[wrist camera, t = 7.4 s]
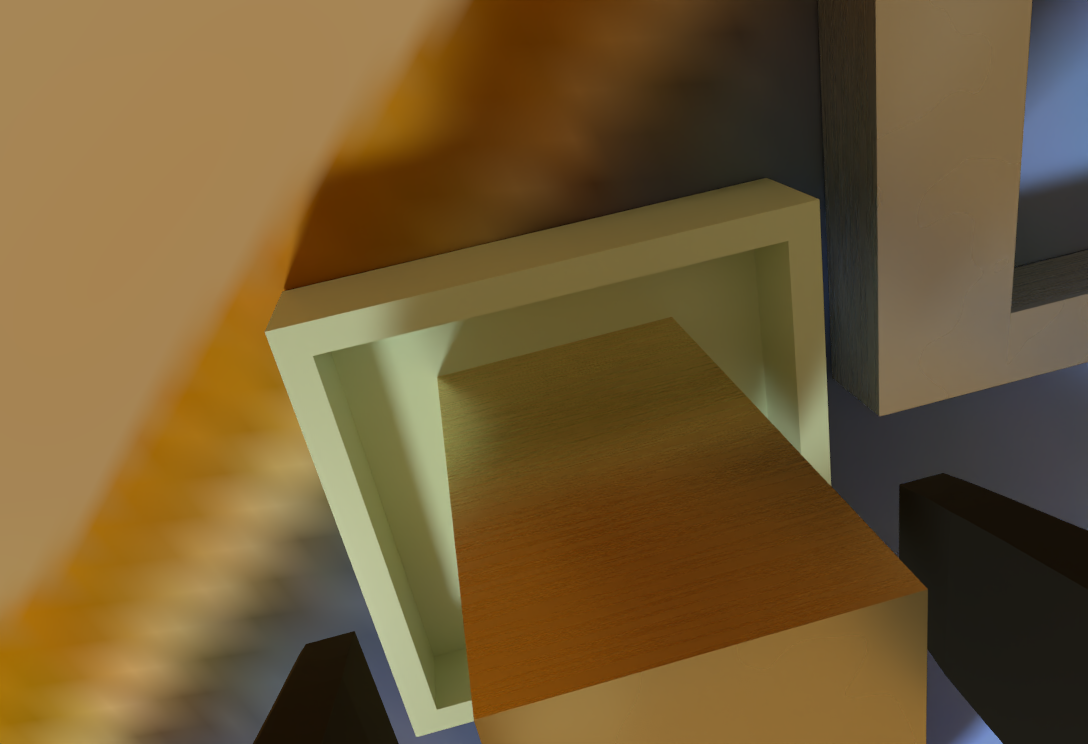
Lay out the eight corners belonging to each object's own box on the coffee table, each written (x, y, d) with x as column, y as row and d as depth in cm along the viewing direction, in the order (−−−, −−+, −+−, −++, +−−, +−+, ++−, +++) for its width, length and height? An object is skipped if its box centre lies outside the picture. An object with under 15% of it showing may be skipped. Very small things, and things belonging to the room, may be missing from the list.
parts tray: (766, 178, 13) (818, 198, 11) (792, 559, 16) (836, 619, 15) (283, 291, 12) (264, 331, 11) (414, 663, 16) (416, 737, 14)
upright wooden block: (671, 316, 13) (927, 589, 7) (699, 511, 15) (924, 874, 8) (436, 376, 13) (474, 719, 6) (492, 567, 14) (564, 987, 8)
